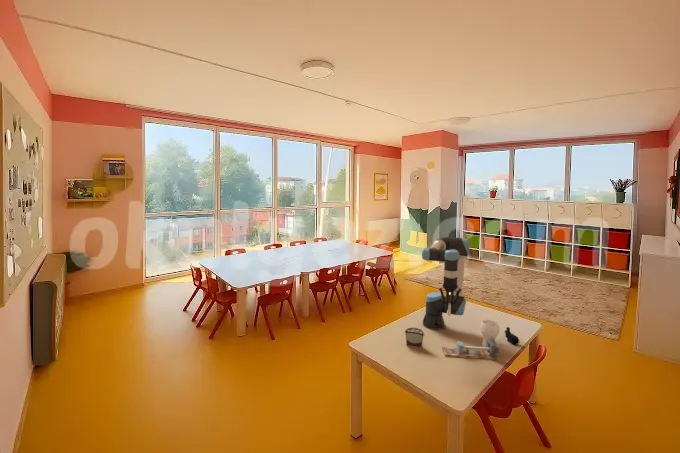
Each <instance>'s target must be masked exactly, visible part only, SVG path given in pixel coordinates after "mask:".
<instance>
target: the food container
mask: <svg viewBox="0 0 680 453" xmlns="http://www.w3.org/2000/svg"><path fill="white" fill-rule="evenodd" d="M404 330H405V331H404V334H405V340H406V342H405V343H406V344H405V345H406V346H408V347H413V348H420V349H422V348H423V341H424V337H425V336H426V335H425V331H424V330H422V329H421V328H418V327H407V328H406V329H404Z"/></svg>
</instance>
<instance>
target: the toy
mask: <svg viewBox="0 0 680 453" xmlns="http://www.w3.org/2000/svg"><path fill="white" fill-rule="evenodd" d="M504 334H505V338H506V341H507V342H508V343H509V344H511V345H514V346H515V345H518V344H519V342H520V339H519V337H518V336H517V335H515V334H514V333H511V329H510V327H509V326H506V329H505V331H504Z"/></svg>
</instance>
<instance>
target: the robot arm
mask: <svg viewBox="0 0 680 453" xmlns="http://www.w3.org/2000/svg"><path fill="white" fill-rule="evenodd" d="M469 242H470V240H469V239H468V238H463V237H454V236H453V237H452V236H451V237H450V236H444V237H440V238H437V239H435V240H434V241H432V243H431V246H430V247H427V248H425V247H424V248H422V250H421V251H422V252H421V258H422V260H423V261H431V262H440V263H441V262H442V263H444V267H443V283H442V286H439V287H438V290H439V292H438V291H434V292H429V293H428V294H426V297H425V298H426V299H425V313H424V316H423V319H422V325H423V326H424V327H425V328H428V329H431V330H441V329H442V330H443V328H445V324H446V323H445V320H444V317H443V314H447V316H450V317H451V315H454V316H463V315H464V313H465V308H466V304H467V299H466V298H465V295H464V294H463V289H464V288H463V287H464V274H465V261H466V259H467V258H468V256H470V243H469ZM444 291H445V294H444Z"/></svg>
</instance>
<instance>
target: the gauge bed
mask: <svg viewBox="0 0 680 453" xmlns="http://www.w3.org/2000/svg"><path fill="white" fill-rule="evenodd" d="M486 347H490V351H484V350H469V352H468V353H469V355H468V354H467V349H463V354H462V353H458V350H457V347H452V346H451V347H450V346H441V349H442V353H443V355H444V357H454V358H465V359H466V358H467V359H481V360H485V359H486V360H499V350H500V346H499V344H498V343H497V342H496V339H495V340H494V339H487V343H486ZM481 352H482V353H483V356H481V354H480V353H481Z"/></svg>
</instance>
